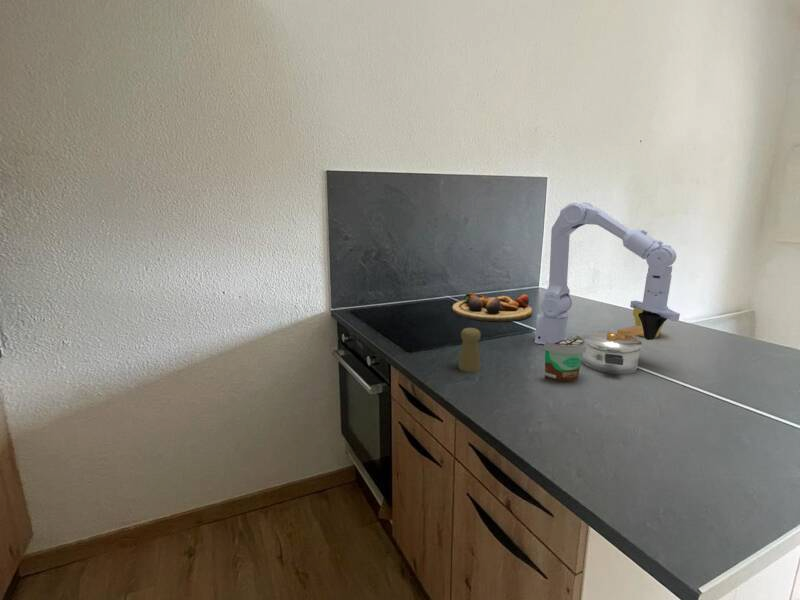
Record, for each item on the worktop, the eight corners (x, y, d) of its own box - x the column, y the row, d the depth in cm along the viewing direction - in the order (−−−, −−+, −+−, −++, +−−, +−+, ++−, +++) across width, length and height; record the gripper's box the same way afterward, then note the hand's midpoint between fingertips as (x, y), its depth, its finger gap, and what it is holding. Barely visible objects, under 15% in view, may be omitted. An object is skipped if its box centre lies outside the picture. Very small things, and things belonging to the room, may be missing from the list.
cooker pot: (642, 381, 109) (646, 359, 107) (583, 373, 113) (585, 352, 112) (630, 353, 129) (633, 334, 127) (580, 347, 133) (582, 328, 132)
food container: (559, 388, 105) (563, 349, 102) (540, 378, 110) (543, 341, 108) (593, 378, 110) (598, 341, 108) (574, 370, 115) (578, 335, 113)
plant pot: (669, 341, 140) (674, 312, 138) (635, 338, 142) (639, 310, 140) (658, 331, 150) (662, 304, 148) (626, 329, 152) (629, 302, 150)
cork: (482, 365, 118) (484, 327, 116) (478, 373, 113) (480, 333, 110) (460, 362, 120) (462, 324, 118) (455, 370, 115) (457, 330, 112)
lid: (619, 356, 109) (620, 345, 108) (571, 339, 121) (572, 329, 120) (664, 343, 119) (666, 333, 118) (616, 329, 131) (617, 320, 130)
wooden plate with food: (530, 305, 186) (531, 286, 185) (534, 325, 156) (536, 303, 154) (456, 302, 194) (456, 284, 192) (447, 320, 164) (447, 299, 162)
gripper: (692, 296, 110) (683, 346, 113) (647, 285, 123) (640, 330, 126) (670, 297, 108) (661, 348, 111) (626, 286, 122) (620, 331, 125)
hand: (649, 338), depth 119 cm, fingers closed
